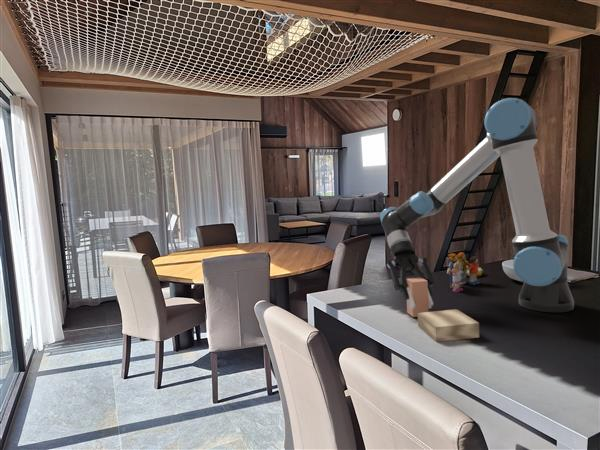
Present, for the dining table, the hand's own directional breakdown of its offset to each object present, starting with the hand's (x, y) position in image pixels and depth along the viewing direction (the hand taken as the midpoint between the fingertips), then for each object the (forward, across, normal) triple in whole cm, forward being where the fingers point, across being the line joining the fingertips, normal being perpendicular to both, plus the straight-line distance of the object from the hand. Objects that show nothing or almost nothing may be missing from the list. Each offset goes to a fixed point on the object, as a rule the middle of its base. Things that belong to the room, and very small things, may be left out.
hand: (422, 307), depth 123 cm
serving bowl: (-18, -58, -24) cm, 65 cm away
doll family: (-20, -28, -26) cm, 43 cm away
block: (0, 0, -5) cm, 5 cm away
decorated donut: (-31, -41, -37) cm, 63 cm away
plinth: (+11, -2, +5) cm, 12 cm away
